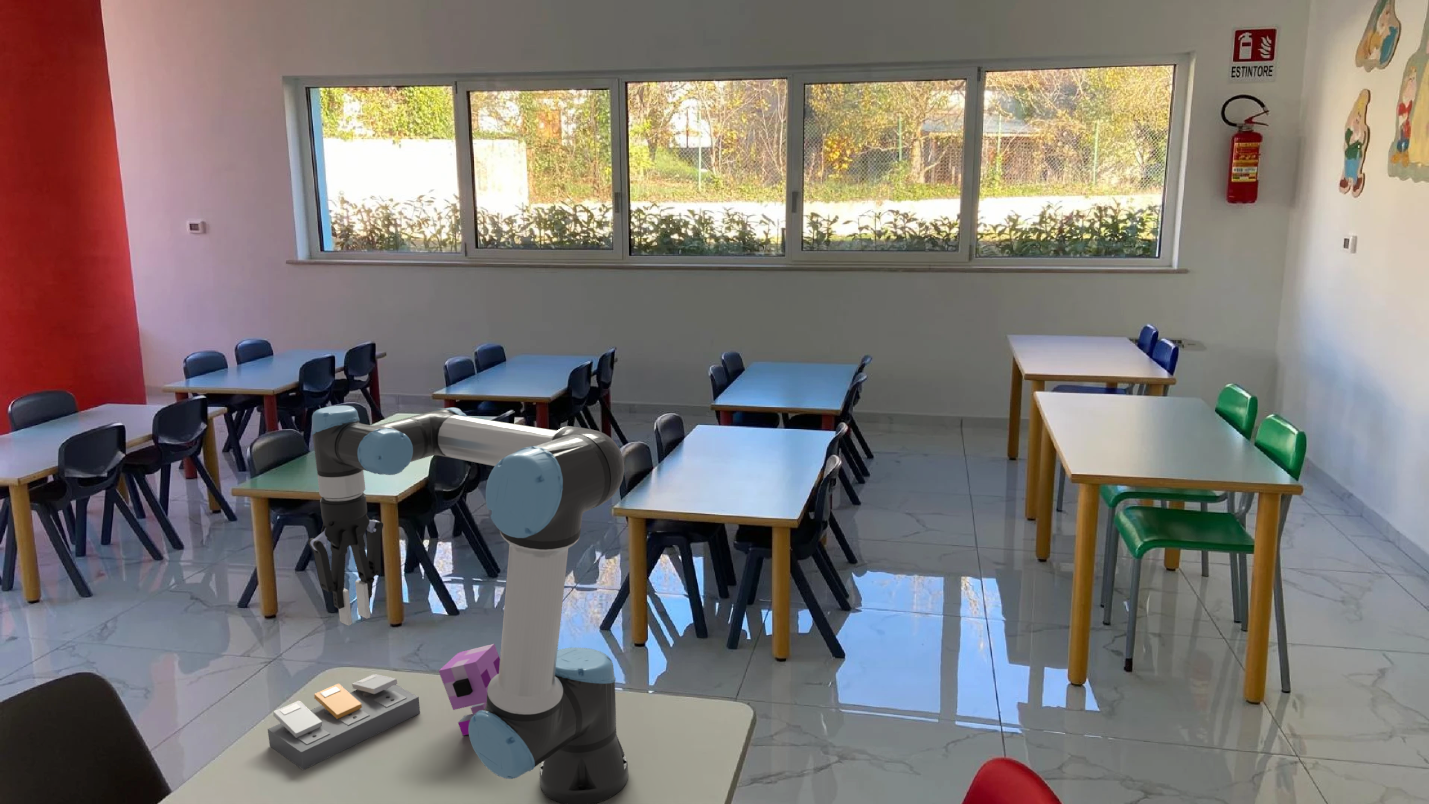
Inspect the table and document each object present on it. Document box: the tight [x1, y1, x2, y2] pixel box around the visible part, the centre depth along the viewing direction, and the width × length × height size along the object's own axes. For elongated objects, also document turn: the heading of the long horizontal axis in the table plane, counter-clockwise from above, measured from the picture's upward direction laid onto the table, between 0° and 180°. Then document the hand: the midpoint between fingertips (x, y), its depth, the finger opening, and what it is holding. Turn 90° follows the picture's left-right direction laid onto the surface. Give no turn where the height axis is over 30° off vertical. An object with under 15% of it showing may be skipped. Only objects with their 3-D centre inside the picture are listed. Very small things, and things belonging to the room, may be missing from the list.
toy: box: [438, 643, 500, 736], centre depth 185 cm, size 11×8×15 cm
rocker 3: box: [351, 673, 398, 694], centre depth 192 cm, size 8×5×1 cm, turn 50°
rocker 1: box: [273, 699, 322, 738], centre depth 180 cm, size 8×5×1 cm, turn 51°
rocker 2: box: [313, 683, 362, 719], centre depth 186 cm, size 8×5×1 cm, turn 51°
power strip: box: [267, 684, 421, 771], centre depth 185 cm, size 12×24×4 cm, turn 141°
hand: (355, 619), depth 176 cm, fingers open, 3 cm apart
